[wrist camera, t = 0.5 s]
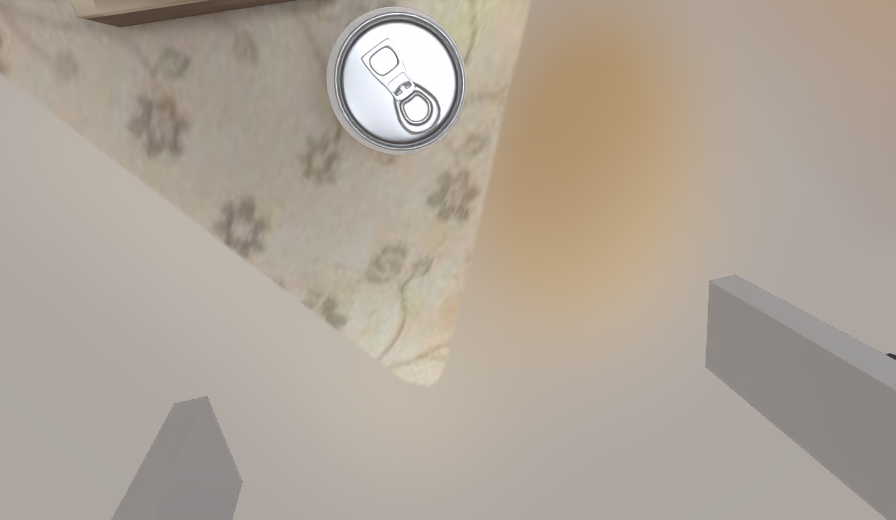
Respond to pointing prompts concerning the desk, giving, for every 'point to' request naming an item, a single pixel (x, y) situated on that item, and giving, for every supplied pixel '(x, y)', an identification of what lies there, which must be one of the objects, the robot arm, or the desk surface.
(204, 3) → the wooden tray
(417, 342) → the desk surface
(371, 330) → the desk surface
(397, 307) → the desk surface
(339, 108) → the can
